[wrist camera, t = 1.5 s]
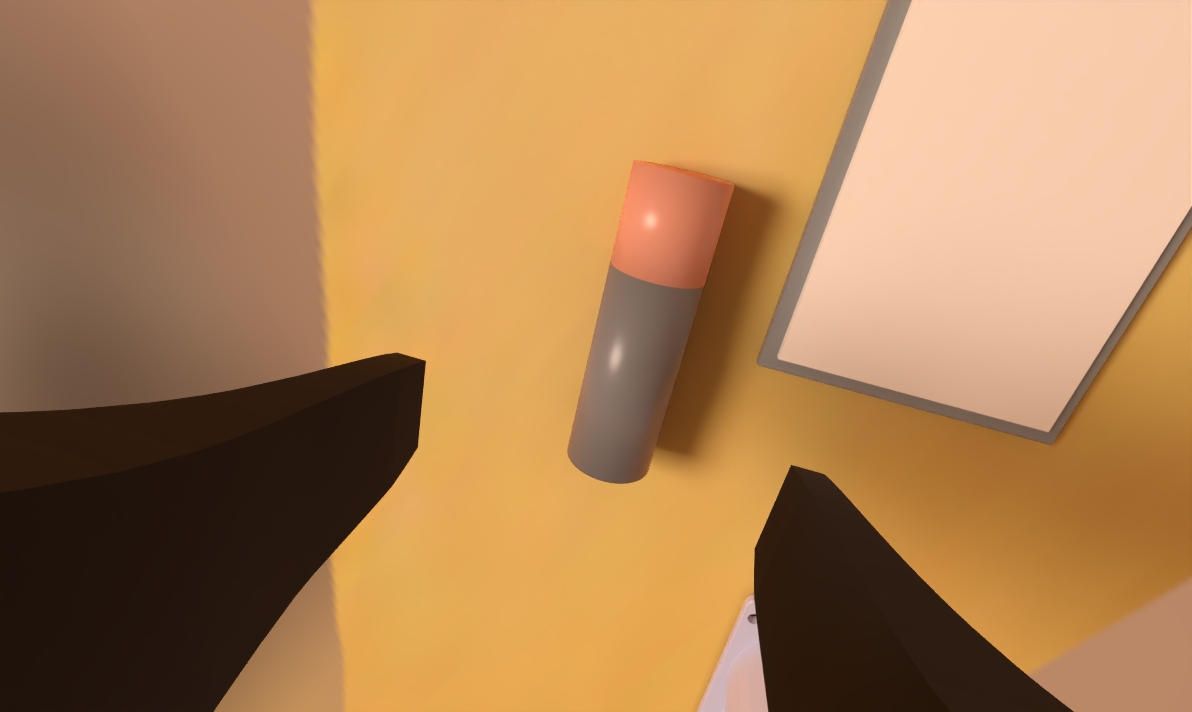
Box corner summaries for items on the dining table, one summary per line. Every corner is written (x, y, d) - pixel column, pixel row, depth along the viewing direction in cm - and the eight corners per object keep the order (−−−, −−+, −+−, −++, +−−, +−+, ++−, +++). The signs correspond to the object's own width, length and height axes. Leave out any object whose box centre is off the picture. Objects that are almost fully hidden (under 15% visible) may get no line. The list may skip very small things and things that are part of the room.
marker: (649, 444, 21) (648, 491, 19) (573, 426, 21) (561, 471, 19) (727, 179, 17) (742, 189, 15) (635, 158, 17) (631, 163, 15)
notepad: (1044, 438, 18) (1056, 449, 18) (756, 360, 19) (758, 368, 19) (1335, -20, 13) (1366, -28, 12) (923, -97, 14) (932, -108, 13)
